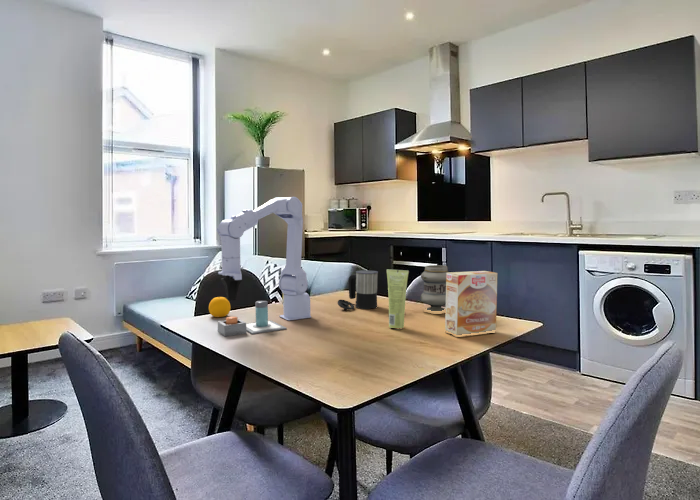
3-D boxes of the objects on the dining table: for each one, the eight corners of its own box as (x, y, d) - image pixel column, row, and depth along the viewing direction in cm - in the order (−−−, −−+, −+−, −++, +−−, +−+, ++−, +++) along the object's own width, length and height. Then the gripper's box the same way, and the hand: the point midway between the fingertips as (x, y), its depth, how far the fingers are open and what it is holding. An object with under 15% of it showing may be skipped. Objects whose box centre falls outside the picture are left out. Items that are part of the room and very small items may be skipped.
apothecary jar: (413, 311, 177) (414, 265, 176) (432, 307, 186) (433, 263, 184) (439, 316, 169) (440, 268, 167) (458, 312, 177) (458, 266, 175)
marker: (265, 323, 155) (264, 300, 154) (269, 326, 151) (269, 302, 151) (254, 325, 153) (253, 301, 152) (258, 327, 149) (258, 303, 149)
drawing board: (270, 321, 161) (270, 319, 161) (286, 329, 150) (286, 327, 150) (237, 326, 154) (237, 324, 154) (251, 334, 143) (251, 332, 143)
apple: (233, 317, 168) (233, 297, 168) (212, 319, 164) (212, 299, 163) (226, 313, 175) (226, 294, 174) (206, 315, 171) (205, 296, 170)
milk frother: (381, 306, 189) (381, 270, 188) (366, 313, 175) (366, 275, 173) (350, 303, 195) (350, 269, 194) (333, 310, 181) (333, 273, 179)
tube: (401, 325, 155) (401, 268, 153) (408, 329, 150) (408, 270, 149) (386, 326, 153) (386, 269, 152) (392, 330, 148) (393, 270, 147)
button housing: (239, 328, 150) (238, 318, 150) (246, 333, 144) (246, 322, 144) (217, 331, 147) (217, 321, 146) (224, 336, 141) (224, 325, 140)
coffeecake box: (457, 338, 139) (458, 274, 137) (444, 332, 145) (445, 272, 144) (497, 333, 144) (498, 272, 143) (482, 328, 151) (483, 270, 149)
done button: (235, 323, 148) (235, 316, 148) (239, 325, 145) (239, 318, 145) (224, 324, 146) (224, 317, 146) (228, 327, 143) (228, 319, 143)
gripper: (212, 256, 148) (212, 297, 149) (225, 259, 136) (226, 304, 137) (233, 255, 152) (234, 295, 153) (248, 258, 140) (248, 302, 140)
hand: (231, 300), depth 145 cm, fingers closed
